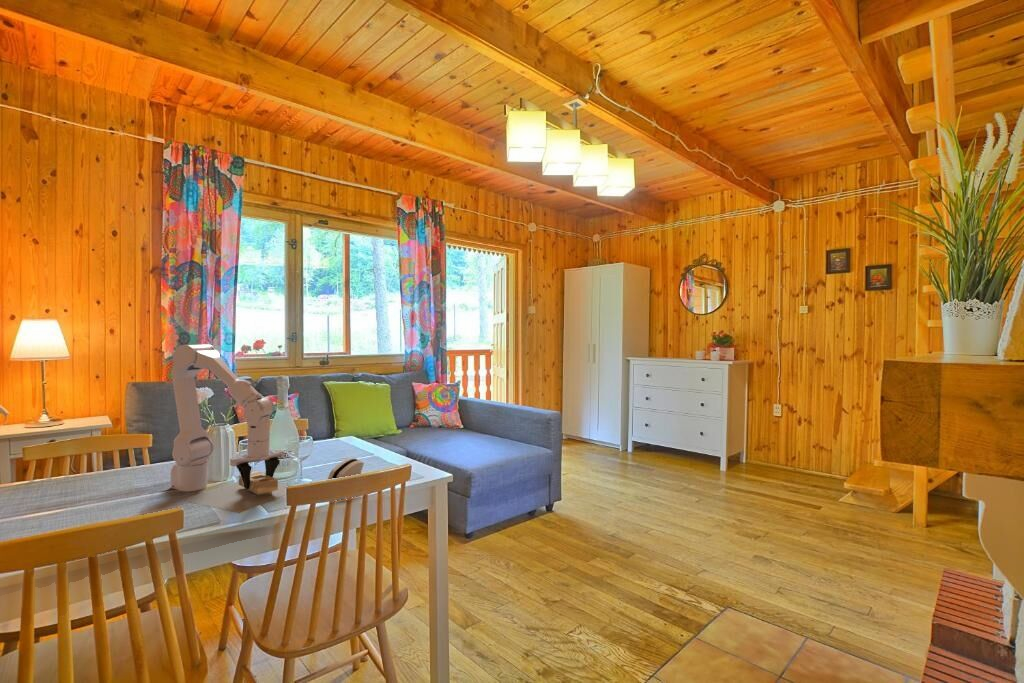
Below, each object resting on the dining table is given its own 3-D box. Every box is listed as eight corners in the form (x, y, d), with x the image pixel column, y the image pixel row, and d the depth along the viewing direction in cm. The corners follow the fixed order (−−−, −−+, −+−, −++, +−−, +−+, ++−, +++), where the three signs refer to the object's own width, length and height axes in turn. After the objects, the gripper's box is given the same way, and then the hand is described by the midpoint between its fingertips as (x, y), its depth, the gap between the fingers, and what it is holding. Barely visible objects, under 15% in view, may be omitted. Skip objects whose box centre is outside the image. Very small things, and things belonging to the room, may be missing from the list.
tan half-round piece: (344, 478, 165) (354, 451, 164) (357, 484, 164) (367, 457, 163) (316, 495, 148) (327, 464, 148) (330, 501, 148) (341, 471, 147)
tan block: (238, 484, 148) (238, 474, 148) (257, 480, 152) (257, 470, 152) (258, 494, 139) (258, 483, 139) (277, 490, 143) (277, 479, 143)
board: (179, 505, 137) (180, 491, 137) (247, 483, 157) (247, 470, 157) (239, 518, 129) (239, 503, 129) (302, 493, 150) (302, 480, 150)
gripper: (237, 446, 137) (236, 494, 137) (289, 438, 148) (288, 483, 148) (227, 441, 141) (226, 488, 142) (278, 434, 152) (278, 478, 153)
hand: (257, 485), depth 145 cm, fingers closed on tan block, 5 cm apart
